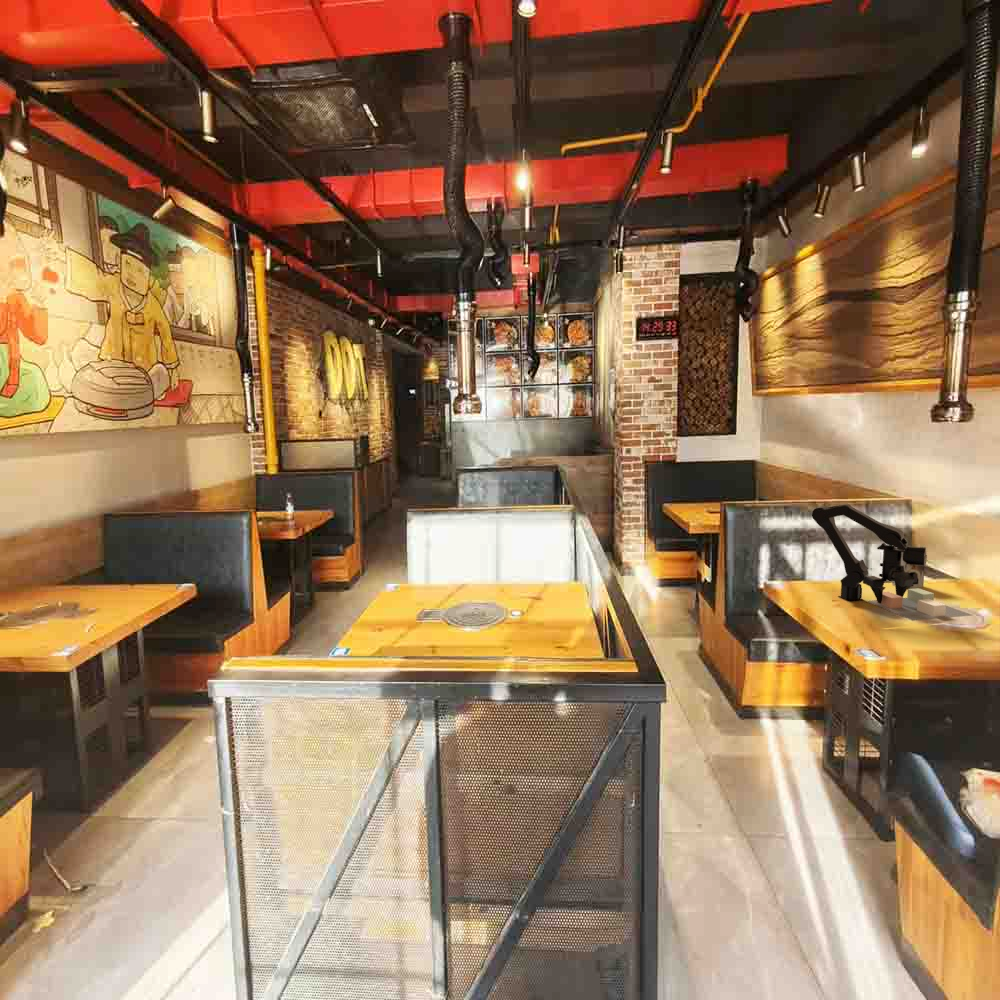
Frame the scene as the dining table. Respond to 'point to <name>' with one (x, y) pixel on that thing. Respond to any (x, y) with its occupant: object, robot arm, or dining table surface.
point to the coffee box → (913, 568)
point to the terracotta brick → (891, 600)
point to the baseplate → (916, 614)
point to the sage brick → (919, 595)
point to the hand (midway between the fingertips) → (889, 602)
